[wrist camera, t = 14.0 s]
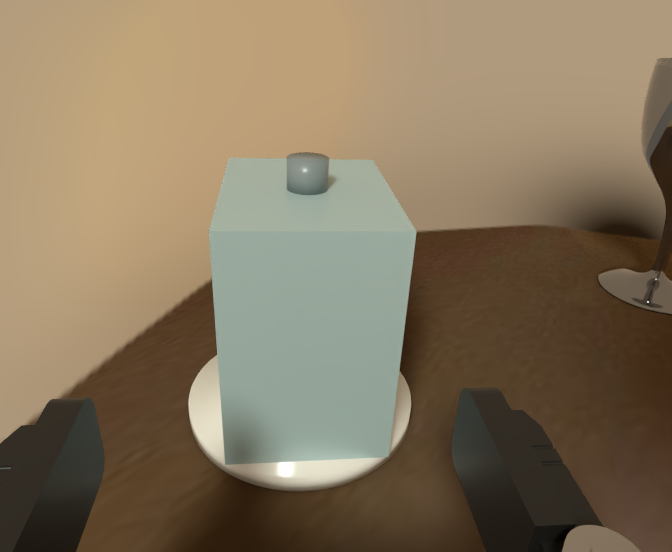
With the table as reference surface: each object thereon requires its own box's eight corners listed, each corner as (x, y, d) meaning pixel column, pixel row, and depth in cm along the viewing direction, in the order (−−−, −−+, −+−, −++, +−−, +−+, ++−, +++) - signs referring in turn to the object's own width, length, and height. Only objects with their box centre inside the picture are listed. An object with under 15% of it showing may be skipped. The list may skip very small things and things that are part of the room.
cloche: (358, 338, 30) (374, 134, 24) (388, 457, 22) (420, 196, 17) (237, 341, 29) (227, 131, 24) (225, 464, 21) (206, 194, 16)
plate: (387, 340, 31) (388, 328, 31) (434, 485, 22) (436, 470, 21) (204, 343, 30) (203, 331, 29) (171, 498, 21) (170, 483, 20)
